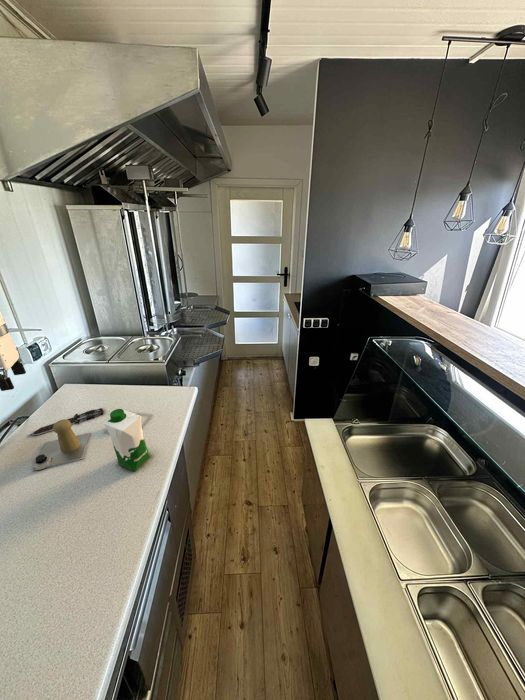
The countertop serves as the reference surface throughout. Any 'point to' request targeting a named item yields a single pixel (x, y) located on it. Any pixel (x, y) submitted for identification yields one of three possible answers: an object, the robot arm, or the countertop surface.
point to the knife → (74, 420)
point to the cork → (66, 436)
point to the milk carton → (127, 438)
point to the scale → (60, 453)
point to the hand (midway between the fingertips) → (14, 381)
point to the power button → (40, 458)
